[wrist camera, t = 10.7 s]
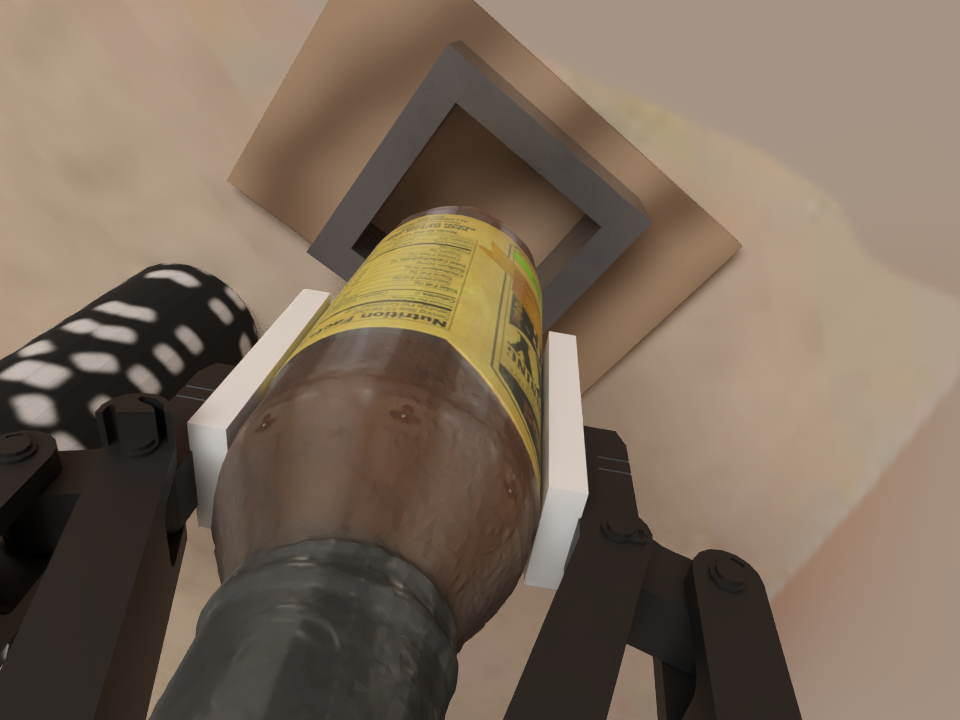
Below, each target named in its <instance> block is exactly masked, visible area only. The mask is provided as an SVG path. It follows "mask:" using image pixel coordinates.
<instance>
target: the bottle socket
mask: <svg viewBox="0 0 960 720" xmlns="http://www.w3.org/2000/svg"><path fill="white" fill-rule="evenodd" d="M457 104H458V105H459V106H460V107H462V108H463V109H464V110H465V111H466V112H468V113H469V114H470V115H471V116H472V117H473V118H475V119H476V120H477V121H478V122H479V123H480V124H482V125H483V126H484V127H485V128H486V129H487V130H489V131H490V132H491V133H492V134H493V135H494V136H496V137H497V138H498V139H499V140H500V141H502V142H503V143H504V144H505V145H506V146H507V147H509V148H510V149H511V150H512V151H513V152H514V153H516V154H517V155H518V156H519V157H520V158H521V159H523V160H524V161H525V162H526V163H527V164H528V165H530V166H531V167H532V168H533V169H534V170H535V171H537V172H538V173H539V174H540V175H541V176H543V177H544V178H545V179H546V180H547V181H548V182H550V183H551V184H552V185H553V186H554V187H555V188H557V189H558V190H559V191H560V192H561V193H562V194H564V195H565V196H566V197H567V198H568V199H569V200H571V201H572V202H573V203H574V204H575V205H576V206H578V207H579V208H580V209H581V210H582V211H584V212H585V213H586V214H585V215H584V216H583V217H582V218H581V219H580V220H579V222H578V223H577V224H576V225H575V226H574V227H573V228H572V229H571V230H570V231H569V233H568V234H567V235H566V236H565V237H564V238H563V239H562V240H561V241H560V242H559V244H558V245H557V246H556V247H555V248H554V249H553V250H552V251H551V252H550V253H549V255H548V256H547V257H546V258H545V259H544V260H543V261H542V262H541V263H540V264H539V266H538V267H537V268H536V274H537V276H538V279H539V283H540V287H541V294H542V335H543V334H544V333H545V332H546V331H547V330H548V329H549V328H550V327H551V326H552V325H553V324H554V323H555V322H556V321H557V320H558V319H559V318H560V317H561V316H562V315H563V313H564V312H565V311H566V310H567V309H568V308H569V307H570V306H571V305H572V304H573V303H574V302H575V301H576V300H577V299H578V298H579V297H580V296H581V295H582V294H583V293H584V292H585V291H586V290H587V289H588V288H589V287H590V286H591V285H592V284H593V283H594V282H595V281H596V280H597V279H598V278H599V277H600V276H601V275H602V274H603V273H604V272H605V270H606V269H607V268H608V267H609V266H610V265H611V264H612V263H613V262H614V261H615V260H616V259H617V258H618V257H619V256H620V255H621V254H622V253H623V252H624V251H625V250H626V249H627V248H628V247H629V246H630V245H631V244H632V243H633V242H634V241H635V240H636V239H637V238H638V237H639V236H640V235H641V234H642V233H643V232H644V231H645V230H646V229H647V227H648V226H649V225H650V224H651V223H652V222H651V220H650V218H649V216H648V214H647V212H646V210H645V208H644V206H643V204H642V202H641V200H640V198H639V197H638V196H636V195H635V194H634V193H633V192H632V191H631V190H630V189H628V188H627V187H626V186H625V185H624V184H623V183H622V182H621V181H619V180H618V179H617V178H616V177H615V176H614V175H613V174H612V173H610V172H609V171H608V170H607V169H606V168H605V167H604V166H603V165H601V164H600V163H599V162H598V161H597V160H596V159H595V158H593V157H592V156H591V155H590V154H589V153H588V152H587V151H586V150H584V149H583V148H582V147H581V146H580V145H579V144H578V143H577V142H575V141H574V140H573V139H572V138H571V137H570V136H569V135H568V134H566V133H565V132H564V131H563V130H562V129H561V128H560V127H558V126H557V125H556V124H555V123H554V122H553V121H552V120H551V119H549V118H548V117H547V116H546V115H545V114H544V113H543V112H542V111H540V110H539V109H538V108H537V107H536V106H535V105H534V104H532V103H531V102H530V101H529V100H528V99H527V98H526V97H525V96H523V95H522V94H521V93H520V92H519V91H518V90H517V89H516V88H514V87H513V86H512V85H511V84H510V83H509V82H508V81H507V80H505V79H504V78H503V77H502V76H501V75H500V74H499V73H497V72H496V71H495V70H494V69H493V68H492V67H491V66H490V65H488V64H487V63H486V62H485V61H484V60H483V59H482V58H481V57H479V56H478V55H477V54H476V53H475V52H474V51H473V50H472V49H470V48H469V47H468V46H467V45H466V44H465V43H464V42H462V41H461V40H459V41H456V42H452V43H449V44H448V45H447V46H446V48H445V49H444V51H443V52H442V54H441V55H440V57H439V58H438V60H437V61H436V62H435V64H434V65H433V67H432V68H431V70H430V71H429V73H428V74H427V76H426V77H425V79H424V80H423V82H422V83H421V85H420V86H419V88H418V89H417V90H416V92H415V93H414V95H413V96H412V98H411V99H410V101H409V102H408V104H407V105H406V107H405V108H404V110H403V111H402V113H401V114H400V116H399V117H398V118H397V120H396V121H395V123H394V124H393V126H392V127H391V129H390V130H389V132H388V133H387V135H386V136H385V138H384V139H383V141H382V142H381V143H380V145H379V146H378V148H377V149H376V151H375V152H374V154H373V155H372V157H371V158H370V160H369V161H368V163H367V164H366V166H365V167H364V169H363V170H362V171H361V173H360V174H359V176H358V177H357V179H356V180H355V182H354V183H353V185H352V186H351V188H350V189H349V191H348V192H347V194H346V195H345V197H344V198H343V199H342V201H341V202H340V204H339V205H338V207H337V208H336V210H335V211H334V213H333V214H332V216H331V217H330V219H329V220H328V222H327V223H326V225H325V226H324V227H323V229H322V230H321V232H320V233H319V235H318V236H317V238H316V239H315V241H314V242H313V244H312V245H311V247H310V248H309V250H308V251H307V253H309V254H310V255H311V256H313V257H314V258H315V259H317V260H318V261H319V262H321V263H322V264H324V265H325V266H326V267H328V268H329V269H330V270H332V271H333V272H335V273H336V274H337V275H339V276H340V277H341V278H343V279H344V280H345V281H347V282H349V280H350V279H351V278H352V277H353V275H354V274H355V273H356V271H357V270H358V269H359V268H360V266H361V265H362V264H363V263H364V261H365V260H366V259H367V258H368V256H369V255H370V254H371V253H372V251H373V250H374V249H375V248H376V246H377V245H378V244H379V243H380V242H381V241H382V240H383V239H384V238H385V237H386V236H387V234H386V233H385V232H383V231H382V230H381V229H379V228H378V227H377V226H375V225H374V224H373V223H372V222H373V221H374V220H375V218H376V217H377V215H378V214H379V213H380V211H381V210H382V209H383V207H384V206H385V204H386V203H387V202H388V200H389V199H390V197H391V196H392V195H393V193H394V192H395V190H396V189H397V188H398V186H399V185H400V184H401V182H402V181H403V179H404V178H405V177H406V175H407V174H408V172H409V171H410V170H411V168H412V167H413V165H414V164H415V163H416V161H417V160H418V159H419V157H420V156H421V154H422V153H423V152H424V150H425V149H426V147H427V146H428V145H429V143H430V142H431V141H432V139H433V138H434V136H435V135H436V134H437V132H438V131H439V129H440V128H441V127H442V125H443V124H444V122H445V121H446V120H447V118H448V117H449V116H450V114H451V113H452V111H453V110H454V109H455V107H456V106H457Z"/></svg>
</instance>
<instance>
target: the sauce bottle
mask: <svg viewBox="0 0 960 720" xmlns="http://www.w3.org/2000/svg"><path fill="white" fill-rule="evenodd" d="M541 421H542V294H541V287H540V283H539V279H538V276H537V274H536V269H535V263H534V258H533V256H532V254H531V252H530V250H529V248H528V247H527V245H526V244H525V243H524V242H523V241H522V240H521V239H520V238H519V237H518V236H517V234H516V233H515V232H514V231H513V230H512V229H510V228H509V227H508V226H507V225H505V224H504V223H502V222H501V221H500V220H498V219H496V218H494V217H493V216H492V215H490V214H489V213H488V212H486V211H484V210H482V209H478V208H475V207H471V206H445V207H438V208H434V209H429V210H426V211H423V212H421V213H417V214H414V215H411V216H409V217H408V218H406V219H405V220H403V221H402V222H401V223H400V224H399V225H398V226H397V227H396V229H395V230H394V231H392V232H391V233H390V234H388V235H387V236H386V237H385V238H384V239H383V240H382V241H381V242H380V243H379V244H378V245H377V246H376V248H375V249H374V250H373V251H372V253H371V254H370V255H369V256H368V258H367V259H366V260H365V261H364V263H363V264H362V265H361V266H360V268H359V269H358V270H357V271H356V273H355V274H354V275H353V277H352V278H351V279H350V280H349V282H348V283H347V284H346V285H345V287H344V288H343V289H342V290H341V292H340V293H339V294H338V296H337V297H336V298H335V299H334V301H333V302H332V303H331V305H330V306H329V307H328V308H327V310H326V311H325V312H324V314H323V315H322V316H321V317H320V319H319V320H318V321H317V323H316V324H315V325H314V326H313V328H312V329H311V330H310V332H309V333H308V334H307V335H306V337H305V338H304V339H303V341H302V342H301V343H300V344H299V346H298V347H297V348H296V350H295V351H294V352H293V353H292V355H291V356H290V357H289V359H288V360H287V361H286V362H285V364H284V365H283V366H282V368H281V369H280V370H279V371H278V373H277V374H276V376H275V377H274V379H273V381H272V382H271V384H270V386H269V388H268V391H267V393H266V396H265V398H264V399H263V400H262V402H261V403H260V404H259V405H258V407H257V408H256V409H255V410H254V412H253V413H252V414H251V415H250V416H249V418H248V419H247V420H246V422H245V423H244V424H243V425H242V427H241V428H240V430H239V432H238V434H237V435H236V437H235V439H234V441H233V443H232V444H231V446H230V448H229V450H228V451H227V454H226V457H225V459H224V461H223V463H222V466H221V469H220V472H219V476H218V480H217V485H216V490H215V494H214V501H213V513H212V523H211V531H212V537H213V541H214V544H215V551H214V553H215V557H216V561H217V565H218V574H219V577H220V581H221V586H220V588H219V589H218V590H217V591H216V592H215V593H214V594H213V595H212V596H211V598H210V599H209V601H208V602H207V604H206V605H205V607H204V608H203V609H202V611H201V613H200V616H199V619H198V623H197V627H196V637H195V639H194V641H193V643H192V644H191V646H190V648H189V649H188V651H187V653H186V655H185V657H184V658H183V660H182V662H181V663H180V665H179V667H178V669H177V671H176V672H175V674H174V676H173V677H172V679H171V680H170V681H169V683H168V685H167V687H166V689H165V691H164V693H163V695H162V696H161V698H160V699H159V700H158V702H157V704H156V706H155V708H154V710H153V712H152V714H151V716H150V718H149V720H445V714H446V711H447V708H448V705H449V703H450V700H451V698H452V696H453V694H454V692H455V689H456V684H457V677H458V660H457V657H456V656H457V654H458V653H459V652H460V650H461V648H462V646H463V644H464V643H465V642H467V641H468V640H469V639H471V638H472V637H473V636H474V635H475V634H476V633H478V632H479V631H480V630H481V629H482V628H483V627H484V626H485V623H487V622H488V621H489V620H490V619H491V618H492V617H493V616H494V615H495V614H496V613H497V611H498V610H499V609H500V608H501V606H502V605H503V604H504V603H505V601H506V600H507V598H508V597H509V596H510V595H511V594H512V592H513V590H514V589H515V587H516V585H517V583H518V581H519V578H520V577H521V575H522V573H523V570H524V567H525V565H526V563H527V559H528V555H529V551H530V548H531V545H532V544H533V542H534V539H535V536H536V532H537V528H538V523H539V513H540V482H541Z"/></svg>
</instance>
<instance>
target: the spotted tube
mask: <svg viewBox="0 0 960 720" xmlns="http://www.w3.org/2000/svg"><path fill="white" fill-rule="evenodd" d="M256 343H257V332H256V329H255V325H254V322H253V319H252V317H251V315H250V313H249V311H248V309H247V307H246V306H245V305H244V303H243V302H242V301H241V299H240V298H239V297H238V295H237V294H236V293H235V292H234V291H233V290H231V289H230V288H229V287H228V286H227V285H226V284H225V283H223V282H222V281H220V280H219V279H218V278H216V277H215V276H213V275H211V274H209V273H207V272H205V271H203V270H201V269H198V268H195V267H192V266H188V265H183V264H175V263H169V264H158V265H155V266H151V267H148V268H146V269H144V270H142V271H141V272H139V273H137V274H136V275H134V276H132V277H131V278H129V279H128V280H126V281H125V282H123V283H121V284H120V285H118V286H117V287H115V288H114V289H112V290H110V291H109V292H107V293H106V294H104V295H102V296H101V297H99V298H98V299H96V300H95V301H93V302H91V303H90V304H88V305H87V306H85V307H84V308H82V309H80V310H79V311H77V312H76V313H74V314H72V315H71V316H69V317H68V318H66V319H65V320H63V321H61V322H60V323H58V324H57V325H55V326H54V327H52V328H50V329H49V330H47V331H46V332H44V333H42V334H41V335H39V336H38V337H36V338H35V339H33V340H31V341H30V342H28V343H27V344H25V345H24V346H22V347H20V348H19V349H17V350H16V351H14V352H12V353H11V354H9V355H8V356H6V357H5V358H3V359H1V360H0V436H1V435H4V434H6V433H11V432H16V431H22V430H35V431H41V432H45V433H48V434H50V435H51V436H52V437H53V438H55V439H56V443H57V447H58V451H68V450H91V449H100V448H101V447H102V445H101V440H100V435H99V430H98V425H97V420H96V415H95V411H96V410H97V409H98V408H99V407H100V406H101V405H102V404H103V403H105V402H107V401H109V400H111V399H112V398H115V397H119V396H122V395H125V394H133V393H150V394H156V395H159V396H161V397H164V398H166V399H167V401H168V402H169V401H170V400H171V399H172V398H173V397H174V396H176V395H177V393H178V392H179V391H180V390H181V389H182V388H183V387H184V386H186V383H187V382H188V381H189V380H190V379H191V378H192V377H193V376H194V375H195V374H196V373H197V372H199V371H201V370H203V369H205V368H207V367H209V366H211V365H213V364H215V363H220V364H226V365H232V366H237V365H238V364H239V363H240V361H241V360H242V359H243V358H244V357H245V356H246V354H247V353H248V352H249V351H250V350H251V349H252V348H253V346H254V345H255V344H256ZM17 633H18V631H17V632H16V634H15V635H14V636H13V638H12V639H11V640H10V642H9V643H8V644H7V645H6V647H5V648H4V649H3V651H2V652H1V653H0V667H1V666H2V665H3V664H4V661H5V659H6V657H7V655H8V652H9V650H10V648H11V646H12V644H13V641H14V639H15V637H16V635H17Z"/></svg>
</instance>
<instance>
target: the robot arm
mask: <svg viewBox="0 0 960 720" xmlns="http://www.w3.org/2000/svg"><path fill="white" fill-rule="evenodd" d="M330 294H331V293H326V292H321V291H315V290H309V289H303V290H302V292H301V293H300V294H299V295H298V296H297V297H296V298H295V300H294V301H293V302H292V303H291V304H290V305H289V306H288V308H287V309H286V310H285V311H284V312H283V313H282V314H281V316H280V317H279V318H278V319H277V320H276V321H275V322H274V324H273V325H272V326H271V327H270V328H269V329H268V330H267V332H266V333H265V334H264V335H263V336H262V337H261V338H260V340H259V341H258V342H257V343H256V344H255V345H254V346H253V348H252V349H251V350H250V351H249V352H248V353H247V354H246V356H245V357H244V358H243V359H242V360H241V361H240V363H239V364H238V365H237V366H232V365H226V364H220V363H215V364H213V365H211V366H209V367H207V368H205V369H203V370H201V371H199V372H197V373H196V374H195V375H194V376H193V377H192V378H191V379H190V380H189V381H188V382H187V383H186V386H184V387H183V388H182V389H181V390H180V391H179V392H178V393H177V395H176V396H174V397H173V398H172V399H171V400H170V401H169V402H168V401H167V399H166V398H164V397H161V396H159V395H156V394H150V393H133V394H125V395H122V396H119V397H115V398H112V399H111V400H109V401H107V402H105V403H103V404H102V405H101V406H100V407H99V408H98V409H97V410H96V411H95V415H96V420H97V425H98V430H99V435H100V440H101V445H102V447H101V448H100V449H91V450H68V451H58V447H57V443H56V439H55V438H53V437H52V436H51V435H50V434H48V433H45V432H41V431H35V430H22V431H16V432H11V433H6V434H4V435H1V436H0V653H1V652H2V651H3V649H4V648H5V647H6V645H7V644H8V643H9V642H10V640H11V639H12V638H13V636H14V635H15V634H16V632H17V631H18V633H17V635H16V637H15V639H14V641H13V644H12V646H11V648H10V650H9V652H8V655H7V657H6V659H5V661H4V664H3V666H2V668H1V670H0V720H146V716H147V712H148V707H149V703H150V699H151V694H152V690H153V685H154V681H155V677H156V672H157V668H158V664H159V659H160V655H161V651H162V646H163V642H164V637H165V633H166V629H167V624H168V620H169V616H170V611H171V607H172V603H173V598H174V594H175V589H176V585H177V581H178V576H179V572H180V568H181V563H182V559H183V555H184V550H185V546H186V541H187V529H186V521H187V519H188V518H189V517H190V515H191V514H192V512H193V511H194V510H195V508H197V517H198V526H199V527H205V528H210V529H211V523H212V513H213V501H214V494H215V490H216V485H217V480H218V476H219V472H220V469H221V466H222V463H223V461H224V459H225V457H226V454H227V451H228V450H229V448H230V446H231V444H232V443H233V441H234V439H235V437H236V435H237V434H238V432H239V430H240V428H241V427H242V425H243V424H244V423H245V422H246V420H247V419H248V418H249V416H250V415H251V414H252V413H253V412H254V410H255V409H256V408H257V407H258V405H259V404H260V403H261V402H262V400H263V399H264V398H265V396H266V393H267V391H268V388H269V386H270V384H271V382H272V381H273V379H274V377H275V376H276V374H277V373H278V371H279V370H280V369H281V368H282V366H283V365H284V364H285V362H286V361H287V360H288V359H289V357H290V356H291V355H292V353H293V352H294V351H295V350H296V348H297V347H298V346H299V344H300V343H301V342H302V341H303V339H304V338H305V337H306V335H307V334H308V333H309V332H310V330H311V329H312V328H313V326H314V325H315V324H316V323H317V321H318V320H319V319H320V317H321V316H322V315H323V314H324V312H325V311H326V310H327V308H328V307H329V306H330ZM628 461H629V460H628V454H627V448H626V445H625V444H624V442H623V441H622V440H621V438H620V437H619V436H618V434H617V433H616V432H615V431H610V430H605V429H599V428H593V427H588V426H583V418H582V406H581V394H580V381H579V369H578V356H577V344H576V336H574V335H568V334H563V333H557V332H551V331H549V334H548V338H547V343H546V347H545V352H544V356H543V361H542V421H541V482H540V513H539V523H538V528H537V532H536V536H535V539H534V542H533V544H532V545H531V548H530V551H529V555H528V559H527V563H526V565H525V567H524V581H523V585H529V586H534V587H540V588H546V589H551V590H557V592H556V594H555V597H554V599H553V601H552V604H551V606H550V609H549V611H548V613H547V616H546V618H545V621H544V623H543V625H542V628H541V630H540V633H539V635H538V637H537V640H536V642H535V645H534V647H533V649H532V652H531V654H530V656H529V659H528V661H527V664H526V666H525V668H524V671H523V673H522V676H521V678H520V680H519V683H518V685H517V688H516V690H515V692H514V695H513V697H512V700H511V702H510V704H509V707H508V709H507V712H506V714H505V716H504V719H503V720H606V719H607V715H608V711H609V707H610V704H611V700H612V696H613V692H614V688H615V685H616V681H617V677H618V673H619V669H620V666H621V662H622V658H623V654H624V651H625V647H626V644H629V645H631V646H633V647H635V648H637V649H639V650H641V651H643V652H645V653H647V654H649V655H651V656H653V663H654V676H655V689H656V702H657V715H658V720H802V718H801V714H800V711H799V707H798V703H797V700H796V697H795V693H794V689H793V686H792V683H791V679H790V676H789V672H788V668H787V665H786V661H785V657H784V654H783V650H782V647H781V643H780V640H779V636H778V633H777V630H776V625H775V622H774V618H773V615H772V611H771V608H770V604H769V601H768V597H767V594H766V590H765V586H764V584H763V582H762V580H761V578H760V576H759V574H758V573H757V572H756V571H755V570H754V569H753V568H752V567H751V566H750V564H749V563H747V562H746V561H744V560H742V559H741V558H739V557H738V556H736V555H734V554H731V553H728V552H726V551H723V550H713V549H709V550H705V551H702V552H699V553H698V554H697V556H696V557H695V558H694V559H693V560H691V559H689V558H686V557H684V556H682V555H679V554H677V553H675V552H672V551H670V550H669V549H667V548H665V547H663V546H661V545H660V544H658V543H657V542H656V541H654V540H653V539H652V533H651V531H650V529H649V528H648V526H647V524H646V523H644V522H643V521H642V520H641V519H640V518H639V517H638V511H637V505H636V500H635V494H634V488H633V482H632V477H631V475H630V473H631V471H630V465H629V463H628Z"/></svg>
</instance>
